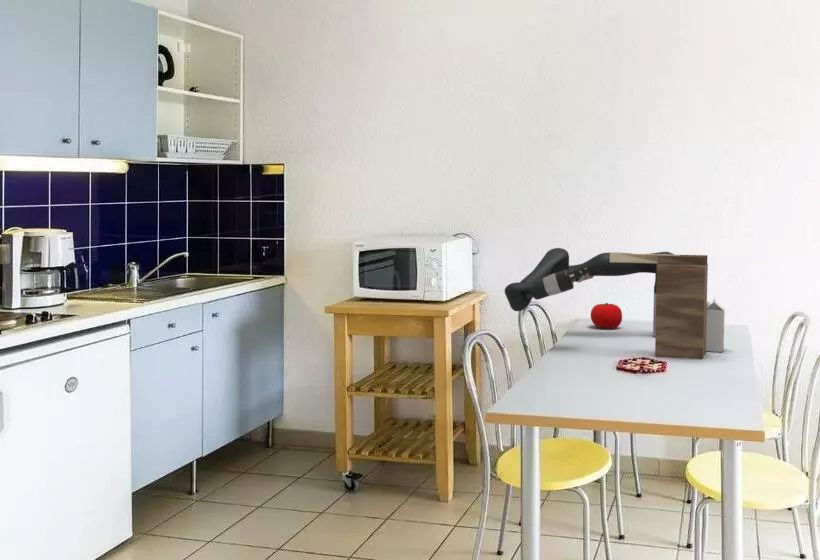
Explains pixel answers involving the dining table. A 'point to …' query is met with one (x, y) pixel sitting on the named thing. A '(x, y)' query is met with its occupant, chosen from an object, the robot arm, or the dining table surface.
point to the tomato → (606, 315)
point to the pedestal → (681, 306)
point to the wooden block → (636, 258)
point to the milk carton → (715, 327)
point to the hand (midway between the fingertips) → (600, 268)
